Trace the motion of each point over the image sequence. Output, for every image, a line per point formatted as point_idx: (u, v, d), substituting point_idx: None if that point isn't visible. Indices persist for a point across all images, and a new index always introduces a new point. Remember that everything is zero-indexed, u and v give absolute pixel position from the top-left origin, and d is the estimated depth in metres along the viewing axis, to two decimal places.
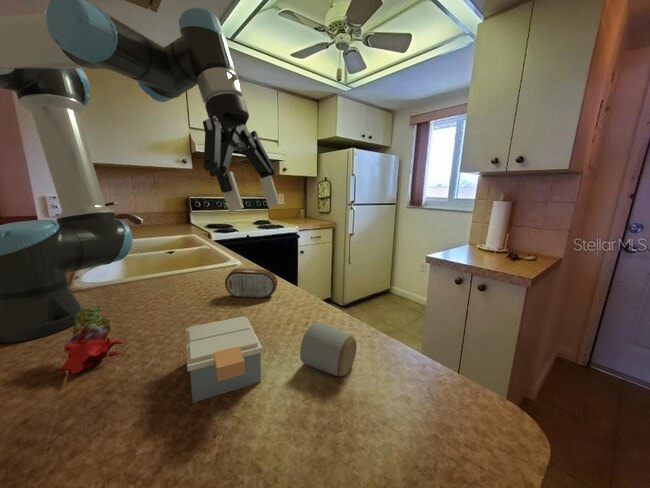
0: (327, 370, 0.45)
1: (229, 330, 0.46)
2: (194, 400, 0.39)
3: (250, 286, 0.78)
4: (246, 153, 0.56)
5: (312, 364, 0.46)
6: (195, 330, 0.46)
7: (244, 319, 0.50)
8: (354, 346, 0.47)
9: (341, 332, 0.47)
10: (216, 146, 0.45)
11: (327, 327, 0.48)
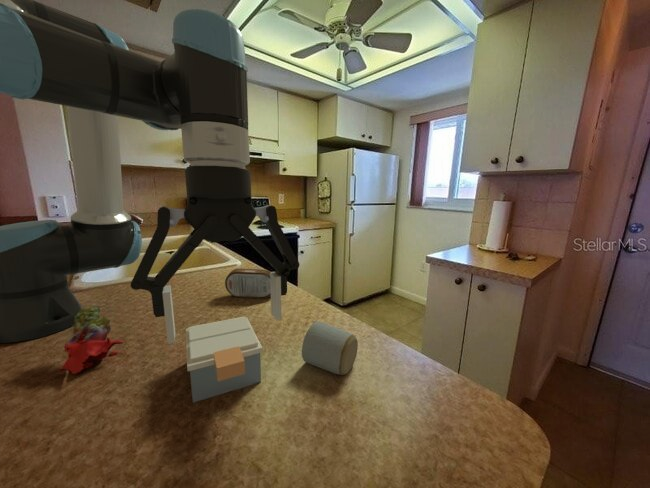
0: (329, 369, 0.45)
1: (229, 330, 0.46)
2: (194, 400, 0.39)
3: (250, 286, 0.78)
4: None
5: (314, 363, 0.47)
6: (195, 330, 0.46)
7: (244, 319, 0.50)
8: (355, 345, 0.48)
9: (342, 331, 0.48)
10: (146, 258, 0.30)
11: (328, 326, 0.49)
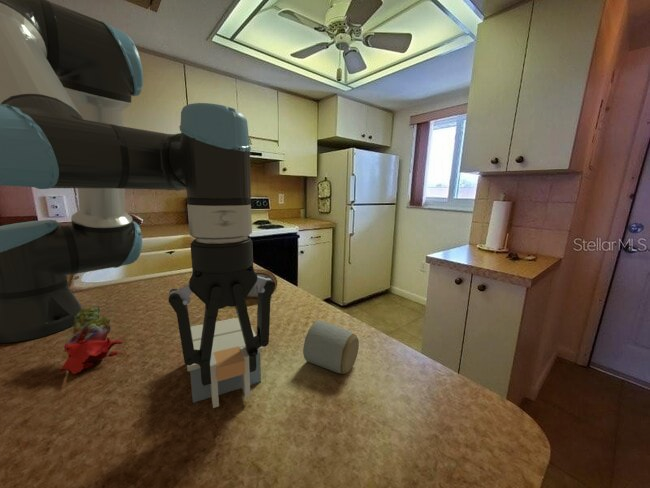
0: (330, 367, 0.46)
1: (229, 330, 0.46)
2: (194, 400, 0.39)
3: None
4: (235, 306, 0.38)
5: (315, 361, 0.47)
6: (195, 330, 0.46)
7: None
8: (356, 344, 0.48)
9: (344, 330, 0.48)
10: (183, 339, 0.34)
11: (330, 325, 0.49)
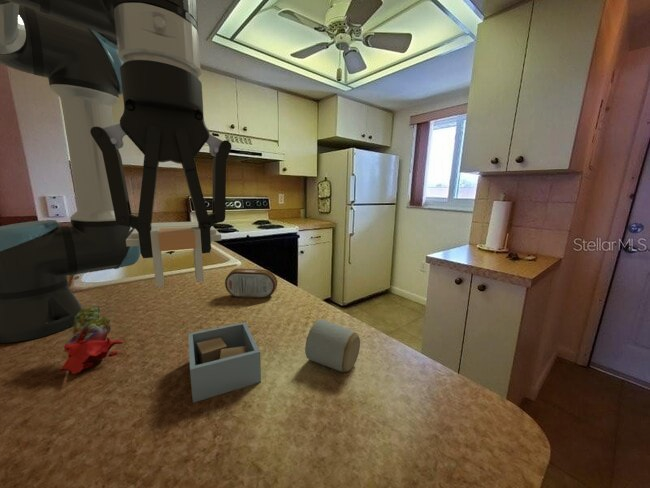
0: (332, 365, 0.46)
1: (186, 225, 0.40)
2: (194, 400, 0.39)
3: (250, 286, 0.78)
4: (183, 170, 0.32)
5: (317, 360, 0.47)
6: None
7: None
8: (358, 342, 0.49)
9: (345, 329, 0.48)
10: (113, 190, 0.28)
11: (331, 324, 0.49)
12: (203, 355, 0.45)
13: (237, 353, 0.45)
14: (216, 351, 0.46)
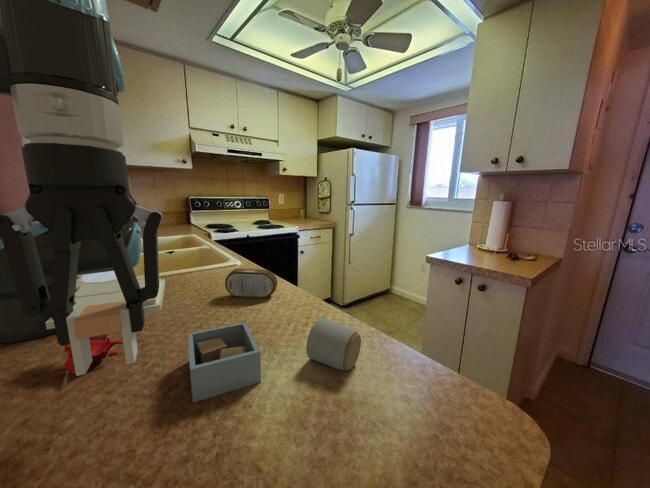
0: (333, 364, 0.46)
1: None
2: (194, 400, 0.39)
3: (250, 286, 0.78)
4: None
5: (318, 359, 0.48)
6: (87, 288, 0.38)
7: None
8: (359, 341, 0.49)
9: (346, 328, 0.49)
10: (19, 279, 0.25)
11: (332, 323, 0.50)
12: (203, 355, 0.45)
13: (237, 353, 0.45)
14: (216, 351, 0.46)
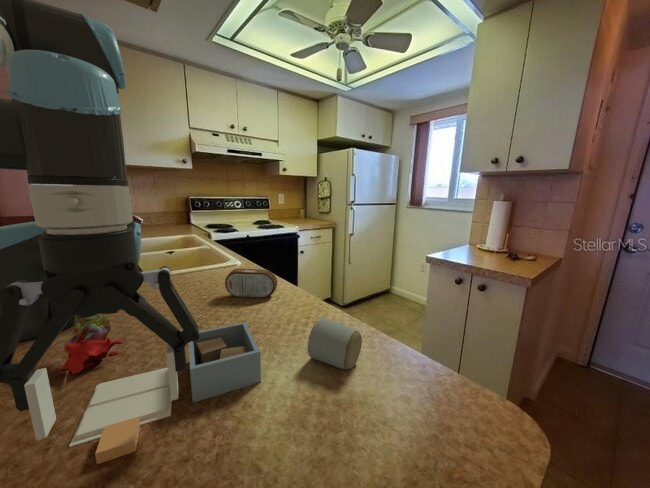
0: (334, 363, 0.47)
1: (143, 388, 0.41)
2: (194, 400, 0.39)
3: (250, 286, 0.78)
4: None
5: (319, 358, 0.48)
6: (103, 388, 0.41)
7: (167, 371, 0.45)
8: (359, 340, 0.49)
9: (347, 327, 0.49)
10: None
11: (333, 322, 0.50)
12: (203, 355, 0.45)
13: (237, 353, 0.45)
14: (216, 351, 0.46)
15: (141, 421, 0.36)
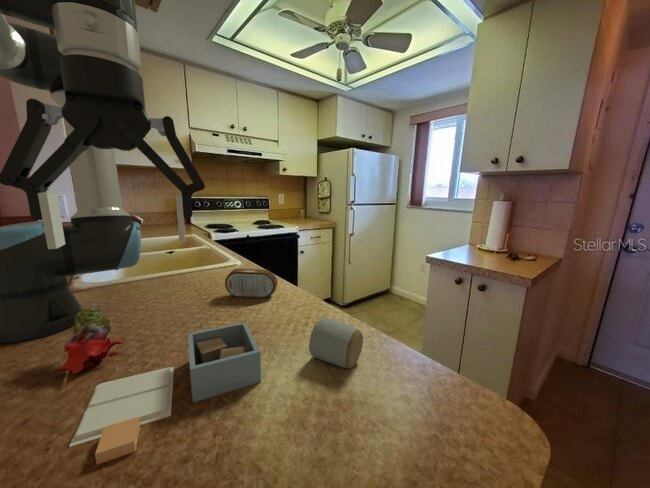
0: (335, 362, 0.47)
1: (143, 388, 0.41)
2: (194, 400, 0.39)
3: (250, 286, 0.78)
4: None
5: (321, 356, 0.48)
6: (103, 388, 0.41)
7: (167, 371, 0.45)
8: (361, 339, 0.50)
9: (348, 326, 0.49)
10: (15, 152, 0.29)
11: (335, 321, 0.50)
12: (203, 355, 0.45)
13: (237, 353, 0.45)
14: (216, 351, 0.46)
15: (141, 421, 0.36)
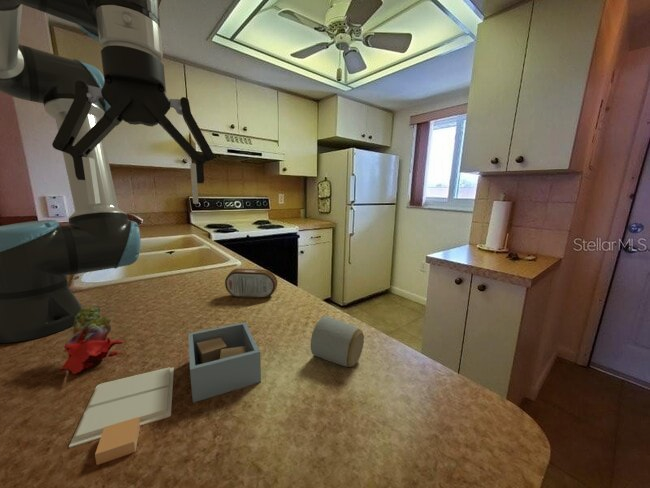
0: (336, 361, 0.47)
1: (143, 389, 0.41)
2: (194, 400, 0.39)
3: (250, 286, 0.78)
4: (165, 129, 0.43)
5: (322, 355, 0.49)
6: (103, 389, 0.41)
7: (167, 372, 0.45)
8: (362, 338, 0.50)
9: (349, 325, 0.50)
10: (66, 123, 0.36)
11: (336, 320, 0.51)
12: (203, 355, 0.45)
13: (237, 353, 0.45)
14: (216, 351, 0.46)
15: (141, 421, 0.36)
